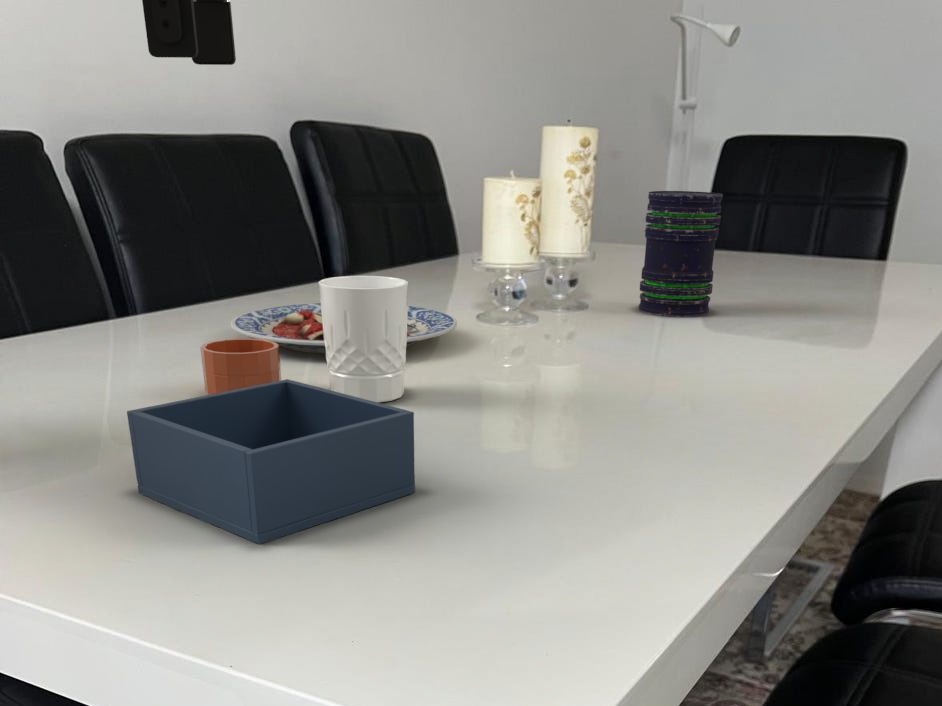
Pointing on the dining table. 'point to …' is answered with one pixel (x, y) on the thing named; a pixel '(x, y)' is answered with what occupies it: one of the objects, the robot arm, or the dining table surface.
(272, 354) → the bowl
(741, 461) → the dining table surface
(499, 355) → the dining table surface
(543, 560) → the dining table surface
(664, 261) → the storage jar
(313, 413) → the bin
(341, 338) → the white cup
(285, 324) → the ceramic plate
